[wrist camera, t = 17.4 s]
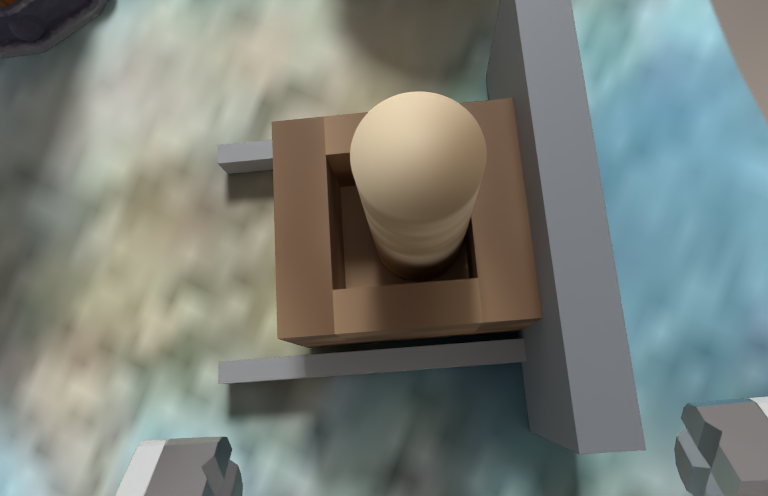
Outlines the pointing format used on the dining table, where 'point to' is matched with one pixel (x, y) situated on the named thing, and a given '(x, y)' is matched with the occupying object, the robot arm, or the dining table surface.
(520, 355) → the backstop
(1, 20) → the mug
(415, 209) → the dowel
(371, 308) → the socket block
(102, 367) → the dining table surface
